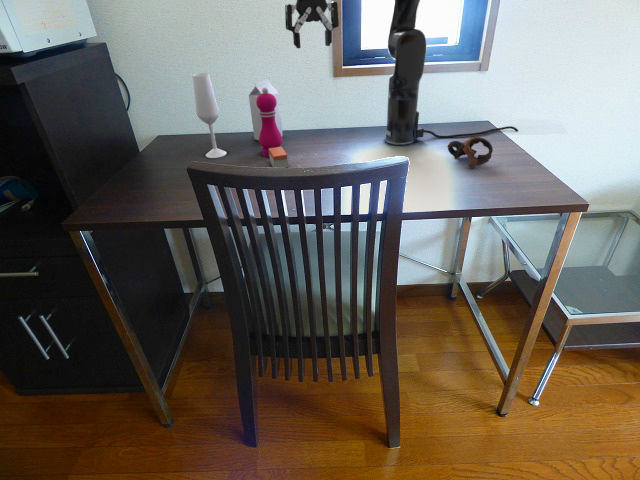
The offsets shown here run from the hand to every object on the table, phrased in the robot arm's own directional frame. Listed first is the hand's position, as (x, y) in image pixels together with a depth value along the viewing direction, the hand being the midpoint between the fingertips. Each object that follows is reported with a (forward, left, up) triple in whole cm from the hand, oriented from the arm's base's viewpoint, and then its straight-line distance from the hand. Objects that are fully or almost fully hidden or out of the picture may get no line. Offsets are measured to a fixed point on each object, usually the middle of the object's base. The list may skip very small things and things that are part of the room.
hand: (313, 46), depth 106 cm
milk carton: (+12, -19, -30) cm, 38 cm away
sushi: (+14, +6, -30) cm, 34 cm away
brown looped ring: (-37, +26, -30) cm, 54 cm away
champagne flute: (+31, -11, -30) cm, 45 cm away
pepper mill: (+14, -4, -30) cm, 34 cm away
